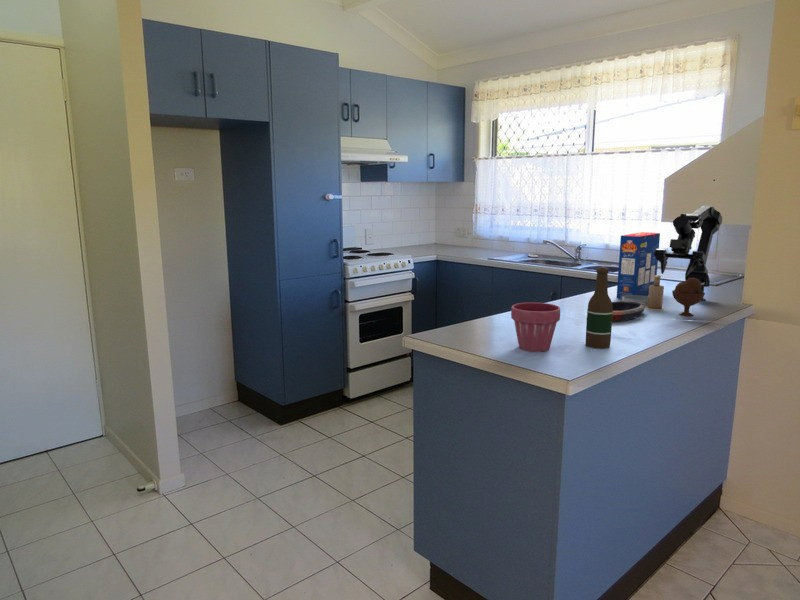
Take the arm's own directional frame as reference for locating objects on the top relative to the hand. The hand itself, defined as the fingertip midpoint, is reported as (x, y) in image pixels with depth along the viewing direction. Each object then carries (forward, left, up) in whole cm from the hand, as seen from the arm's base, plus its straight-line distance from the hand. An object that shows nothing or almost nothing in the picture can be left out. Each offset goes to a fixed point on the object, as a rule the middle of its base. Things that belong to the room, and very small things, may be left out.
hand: (673, 274), depth 232 cm
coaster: (+2, -7, -14) cm, 16 cm away
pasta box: (-29, -9, -14) cm, 34 cm away
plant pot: (+74, -54, -14) cm, 93 cm away
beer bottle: (+67, -35, -14) cm, 77 cm away
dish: (+21, -24, -14) cm, 35 cm away
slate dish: (-8, -12, -14) cm, 20 cm away
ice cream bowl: (+14, +2, -14) cm, 20 cm away
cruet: (+2, -7, -13) cm, 15 cm away
